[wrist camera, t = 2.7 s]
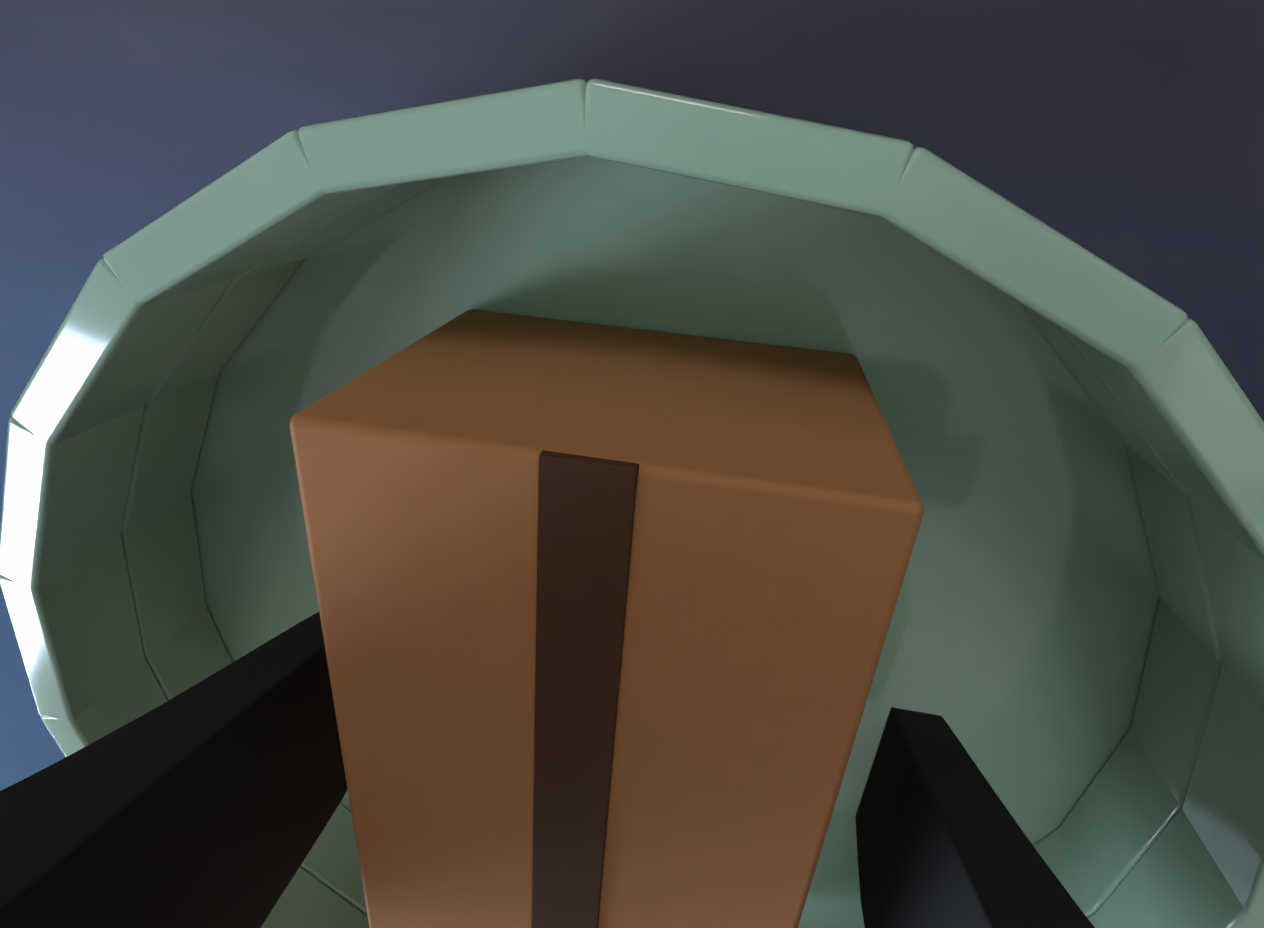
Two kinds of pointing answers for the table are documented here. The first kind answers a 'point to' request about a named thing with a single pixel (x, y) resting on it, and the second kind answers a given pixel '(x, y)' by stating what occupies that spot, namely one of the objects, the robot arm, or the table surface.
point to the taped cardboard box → (599, 618)
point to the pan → (709, 307)
